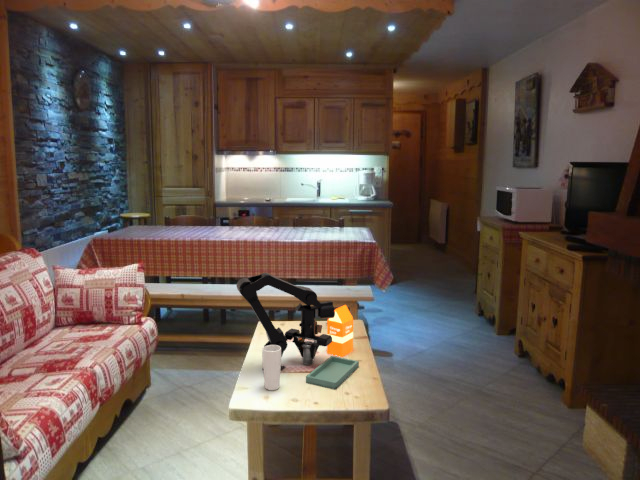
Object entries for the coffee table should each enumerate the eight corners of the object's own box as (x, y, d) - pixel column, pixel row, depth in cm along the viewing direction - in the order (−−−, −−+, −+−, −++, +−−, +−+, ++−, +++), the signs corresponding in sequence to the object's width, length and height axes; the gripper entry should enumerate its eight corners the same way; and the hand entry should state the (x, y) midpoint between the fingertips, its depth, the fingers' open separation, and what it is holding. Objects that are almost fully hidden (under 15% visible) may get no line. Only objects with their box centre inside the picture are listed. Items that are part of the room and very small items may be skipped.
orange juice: (353, 350, 220) (353, 305, 217) (342, 357, 213) (342, 311, 209) (337, 346, 224) (338, 302, 221) (326, 353, 217) (326, 307, 214)
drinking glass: (260, 385, 187) (260, 345, 184) (278, 382, 189) (278, 343, 187) (265, 393, 180) (264, 352, 178) (283, 390, 183) (283, 350, 180)
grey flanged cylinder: (310, 366, 202) (311, 346, 200) (299, 363, 204) (299, 344, 203) (316, 361, 206) (316, 342, 205) (305, 359, 208) (305, 340, 207)
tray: (335, 389, 184) (335, 382, 183) (305, 382, 189) (305, 376, 188) (358, 367, 203) (358, 361, 203) (331, 361, 208) (331, 355, 208)
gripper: (338, 317, 205) (337, 354, 208) (297, 311, 213) (297, 347, 216) (326, 326, 195) (325, 364, 198) (283, 318, 203) (283, 356, 206)
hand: (308, 357), depth 205 cm, fingers closed on grey flanged cylinder, 4 cm apart
